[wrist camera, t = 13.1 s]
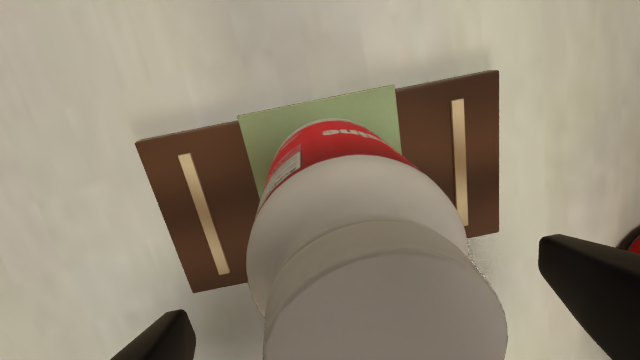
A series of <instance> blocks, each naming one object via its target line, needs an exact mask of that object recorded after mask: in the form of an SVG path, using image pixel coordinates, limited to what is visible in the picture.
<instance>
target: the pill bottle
mask: <svg viewBox="0 0 640 360" xmlns="http://www.w3.org/2000/svg"><path fill="white" fill-rule="evenodd" d="M246 269H247V277H248V283H249V287H250V290H251V293H252V296H253V299H254V301H255V303H256V305H257V307H258V309H259V310H260V312H261V314H262V315H263V316H264V318H265V331H264V343H263V360H504V358H505V353H506V348H507V342H508V335H507V323H506V318H505V313H504V310H503V308H502V305H501V303H500V301H499V299H498V297H497V295H496V293H495V292H494V290H493V289H492V288H491V286H490V285H489V284H488V282H487V281H486V280H485V279H484V278H483V277H482V275H481V274H480V273H479V271H478V270H477V269H476V268H475V266H474V265H473V264H472V263H471V261H470V260H469V259H468V243H467V237H466V232H465V228H464V225H463V223H462V220H461V218H460V216H459V214H458V212H457V210H456V208H455V207H454V205H453V204H452V202H451V201H450V199H449V198H448V197H447V195H446V194H445V193H444V192H443V191H442V190H441V189H440V188H439V187H438V185H437V184H436V183H435V182H434V181H432V180H431V179H430V178H429V177H428V176H427V175H425V174H424V173H423V172H422V171H420V170H419V169H418V168H417V167H415V166H414V165H413V164H412V163H411V162H409V161H408V160H407V159H406V158H405V157H403V156H402V155H401V154H400V153H398V152H397V151H396V150H395V149H393V148H392V147H391V146H390V145H389V144H387V143H386V142H385V141H384V140H382V139H381V138H380V137H379V136H377V135H376V134H375V133H374V132H372V131H371V130H369V129H368V128H366V127H364V126H362V125H360V124H358V123H356V122H353V121H350V120H345V119H339V118H327V119H320V120H316V121H313V122H310V123H307V124H305V125H303V126H302V127H300V128H298V129H297V130H295V131H294V132H293V133H292V134H290V135H289V136H288V137H287V138H286V139H285V140H284V142H283V143H282V144H281V146H280V147H279V149H278V151H277V152H276V154H275V157H274V159H273V161H272V164H271V167H270V170H269V174H268V177H267V180H266V183H265V187H264V190H263V194H262V197H261V200H260V204H259V207H258V210H257V213H256V217H255V220H254V223H253V227H252V230H251V234H250V238H249V243H248V247H247V259H246Z"/></svg>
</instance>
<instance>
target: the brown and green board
mask: <svg viewBox="0 0 640 360" xmlns="http://www.w3.org/2000/svg"><path fill="white" fill-rule="evenodd" d="M237 117H238V120H237V121H232V122H227V123H222V124H217V125H212V126H207V127H202V128H197V129H192V130H187V131H182V132H177V133H172V134H167V135H162V136H157V137H152V138H147V139H142V140H140V141H138V142H136V143H135V146H136V148H137V151H138V153H139V156H140V158H141V161H142V164H143V166H144V169H145V171H146V174H147V176H148V179H149V182H150V184H151V187H152V189H153V192H154V194H155V197H156V199H157V202H158V205H159V207H160V210H161V212H162V215H163V217H164V220H165V223H166V225H167V228H168V230H169V233H170V235H171V238H172V241H173V243H174V246H175V248H176V251H177V253H178V256H179V259H180V261H181V264H182V266H183V269H184V271H185V274H186V277H187V279H188V282H189V284H190V287H191V289H192V292H193V293H197V292H202V291H207V290H212V289H217V288H222V287H227V286H232V285H237V284H242V283H247V282H248V277H247V269H246V259H247V247H248V243H249V238H250V234H251V230H252V227H253V223H254V220H255V217H256V213H257V210H258V207H259V204H260V200H261V197H262V194H263V190H264V187H265V183H266V180H267V177H268V174H269V170H270V167H271V164H272V161H273V159H274V157H275V154H276V152H277V151H278V149H279V147H280V146H281V144H282V143H283V142H284V140H285V139H286V138H287V137H288V136H289V135H290V134H292V133H293V132H294V131H295V130H297V129H298V128H300V127H302V126H303V125H305V124H307V123H310V122H313V121H316V120H320V119H327V118H339V119H345V120H350V121H353V122H356V123H358V124H360V125H362V126H364V127H366V128H368V129H369V130H371V131H372V132H374V133H375V134H376V135H377V136H379V137H380V138H381V139H382V140H384V141H385V142H386V143H387V144H389V145H390V146H391V147H392V148H393V149H395V150H396V151H397V152H398V153H400V154H401V155H402V156H403V157H405V158H406V159H407V160H408V161H409V162H411V163H412V164H413V165H414V166H415V167H417V168H418V169H419V170H420V171H422V172H423V173H424V174H425V175H427V176H428V177H429V178H430V179H431V180H432V181H434V182H435V183H436V184H437V185H438V187H439V188H440V189H441V190H442V191H443V192H444V193H445V194H446V195H447V197H448V198H449V199H450V201H451V202H452V204H453V205H454V207H455V208H456V210H457V212H458V214H459V216H460V218H461V220H462V223H463V225H464V228H465V232H466V237H467V238H472V237H477V236H482V235H487V234H492V233H497V232H499V71H498V70H488V71H483V72H478V73H473V74H468V75H463V76H458V77H453V78H448V79H443V80H438V81H433V82H428V83H423V84H418V85H413V86H408V87H403V88H398V89H395V85H389V86H384V87H379V88H374V89H369V90H364V91H359V92H354V93H349V94H344V95H339V96H334V97H329V98H324V99H319V100H314V101H309V102H304V103H299V104H294V105H289V106H283V107H278V108H273V109H268V110H263V111H258V112H253V113H248V114H243V115H238V116H237Z"/></svg>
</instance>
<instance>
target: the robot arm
mask: <svg viewBox="0 0 640 360" xmlns="http://www.w3.org/2000/svg"><path fill="white" fill-rule="evenodd" d="M538 267H539V270H540V273H541V274H542V276H543V277H544V279H545V280H546V281H547V282H548V284H549V285H550V286H551V288H552V289H553V290H554V291H555V293H556V294H557V295H558V297H559V298H560V299H561V301H562V302H563V303H564V304H565V306H566V307H567V308H568V310H569V311H570V312H571V313H572V315H573V316H574V317H575V319H576V320H577V321H578V322H579V323H580V325H581V326H582V327H583V328H584V330H585V331H586V332H587V333H588V334H589V335H590V336H591V337H592V339H593V340H594V341H595V342H596V343H597V344H598V345H599V346H600V347H601V348H602V349H603V350H604V352H605V353H606V354H607V355H608V356H609V357H610V358H611V359H612V360H640V254H638V253H634V252H630V251H626V250H622V249H618V248H614V247H610V246H606V245H602V244H598V243H594V242H590V241H586V240H582V239H578V238H574V237H569V236H565V235H561V234H555V235H550V236H545V237H543V238H541V240H540V242H539V258H538ZM195 347H196V336H195V332H194V330H193V327H192V325H191V323H190V320H189V318H188V315H187V313H186V312H185V311H184V310H182V309H180V310H175V311H170V312H167V313H165V314H164V315H163V316H161V317H160V318H159V319H158V320H157V321H155V322H154V323H153V324H152V325H151V326H149V327H148V328H147V329H146V330H145V331H144V332H142V333H141V334H140V335H139V336H138V337H136V338H135V339H134V340H133V341H132V342H131V343H129V344H128V345H127V346H126V347H125V348H123V349H122V350H121V351H120V352H119V353H117V354H116V355H115V356H114V357H113V358H112V359H110V360H193V358H194V352H195Z"/></svg>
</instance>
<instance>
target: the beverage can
mask: <svg viewBox="0 0 640 360" xmlns="http://www.w3.org/2000/svg"><path fill="white" fill-rule="evenodd" d="M627 251H630V252H634V253H638V254H640V235H639V236H638V237H636V239H635V240H634V241H633V242H632V243H631V245H630V246H629V248H628V249H627Z"/></svg>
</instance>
